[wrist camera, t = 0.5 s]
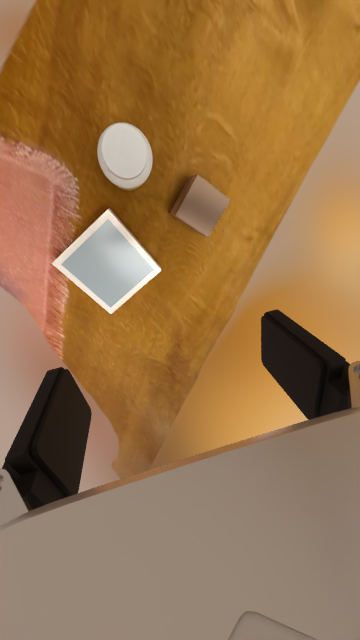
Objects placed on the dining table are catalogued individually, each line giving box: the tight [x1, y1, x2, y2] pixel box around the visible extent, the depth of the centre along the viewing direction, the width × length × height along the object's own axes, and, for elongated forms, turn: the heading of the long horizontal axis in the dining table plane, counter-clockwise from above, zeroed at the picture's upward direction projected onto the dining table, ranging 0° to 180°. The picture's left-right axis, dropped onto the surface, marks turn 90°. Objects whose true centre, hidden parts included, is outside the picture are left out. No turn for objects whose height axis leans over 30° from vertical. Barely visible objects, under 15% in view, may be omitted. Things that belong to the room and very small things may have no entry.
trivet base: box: [52, 208, 161, 314], centre depth 32 cm, size 10×10×3 cm
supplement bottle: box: [97, 123, 153, 190], centre depth 24 cm, size 5×5×10 cm
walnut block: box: [170, 174, 230, 237], centre depth 30 cm, size 5×5×5 cm
